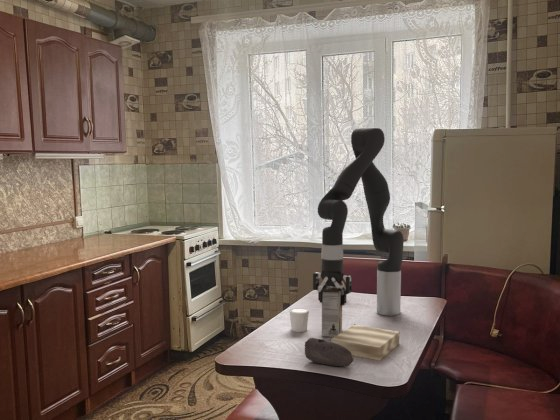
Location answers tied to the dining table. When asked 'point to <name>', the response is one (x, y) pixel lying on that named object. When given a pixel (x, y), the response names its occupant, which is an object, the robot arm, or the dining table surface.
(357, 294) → the dining table surface
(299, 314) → the white faceted cup
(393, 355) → the dining table surface
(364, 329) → the birch plinth
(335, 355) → the perforated stone tool
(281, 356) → the dining table surface
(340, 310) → the coffee box
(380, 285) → the robot arm
